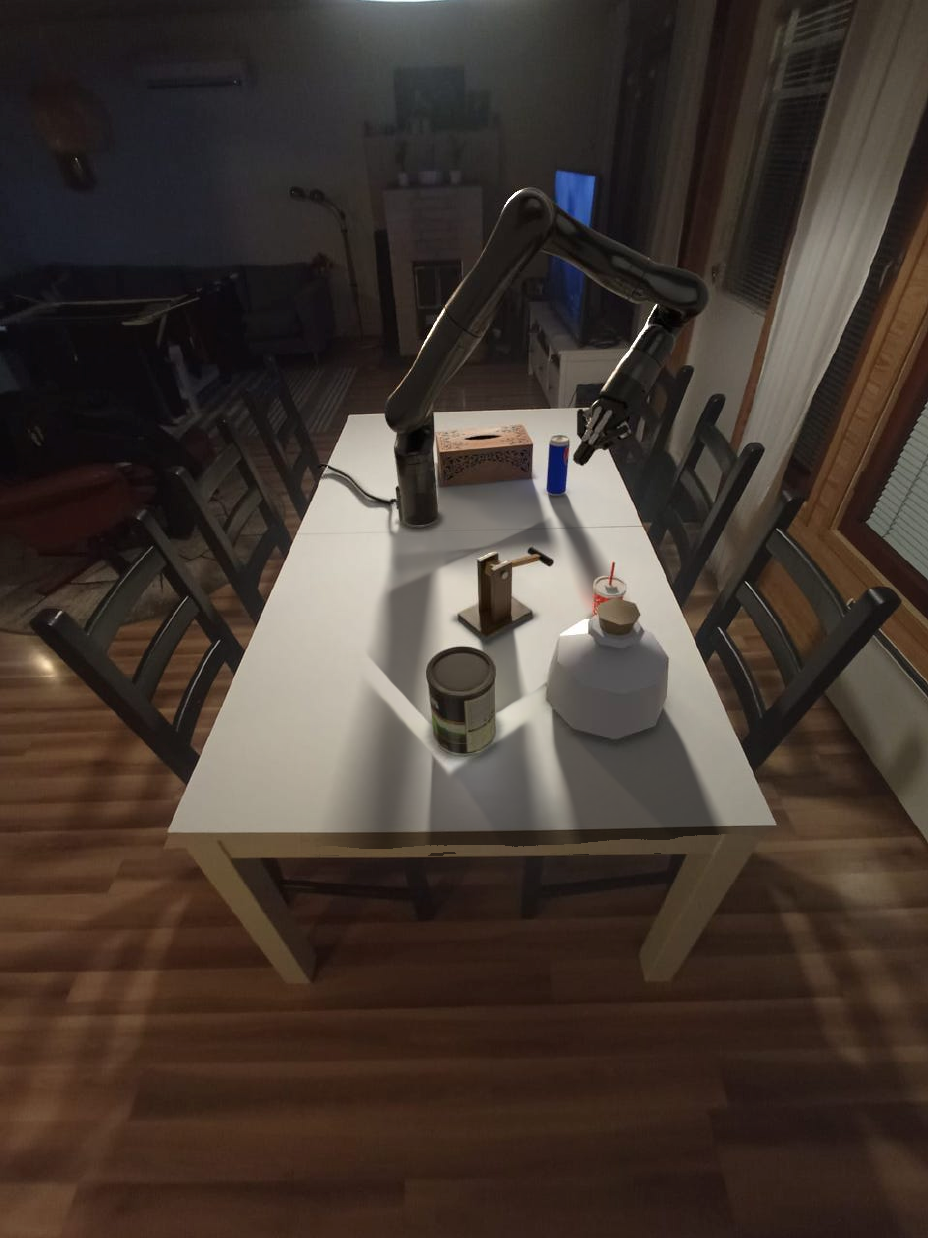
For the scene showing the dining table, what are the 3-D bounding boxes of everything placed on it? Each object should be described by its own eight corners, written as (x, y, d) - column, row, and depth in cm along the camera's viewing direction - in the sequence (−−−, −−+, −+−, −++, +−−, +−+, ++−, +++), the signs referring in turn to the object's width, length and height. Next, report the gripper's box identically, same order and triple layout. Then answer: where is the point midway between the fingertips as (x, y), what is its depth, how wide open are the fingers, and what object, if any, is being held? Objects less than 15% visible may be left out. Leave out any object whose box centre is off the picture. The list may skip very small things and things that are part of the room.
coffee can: (434, 760, 86) (426, 699, 77) (431, 709, 94) (424, 648, 85) (500, 754, 87) (500, 692, 78) (492, 704, 95) (491, 642, 86)
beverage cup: (601, 635, 107) (611, 576, 98) (582, 618, 111) (589, 559, 102) (626, 625, 109) (638, 566, 100) (606, 608, 113) (616, 549, 104)
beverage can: (564, 497, 149) (569, 442, 140) (545, 495, 150) (548, 442, 141) (566, 488, 153) (570, 434, 144) (547, 487, 154) (550, 434, 144)
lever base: (503, 595, 118) (503, 539, 109) (532, 616, 112) (535, 558, 103) (457, 618, 112) (454, 561, 104) (485, 641, 107) (484, 583, 98)
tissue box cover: (521, 456, 170) (522, 424, 164) (531, 477, 159) (533, 443, 153) (437, 464, 168) (435, 431, 162) (441, 485, 157) (439, 451, 151)
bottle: (671, 751, 86) (699, 664, 74) (542, 737, 89) (549, 650, 77) (659, 661, 101) (681, 576, 89) (550, 651, 104) (556, 568, 92)
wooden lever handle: (531, 554, 114) (534, 544, 113) (552, 567, 110) (554, 556, 109) (478, 568, 106) (479, 557, 105) (498, 582, 102) (500, 571, 101)
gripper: (595, 363, 106) (544, 443, 108) (651, 379, 98) (595, 465, 100) (610, 385, 112) (562, 461, 114) (665, 402, 103) (611, 483, 106)
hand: (577, 462), depth 107 cm, fingers closed
